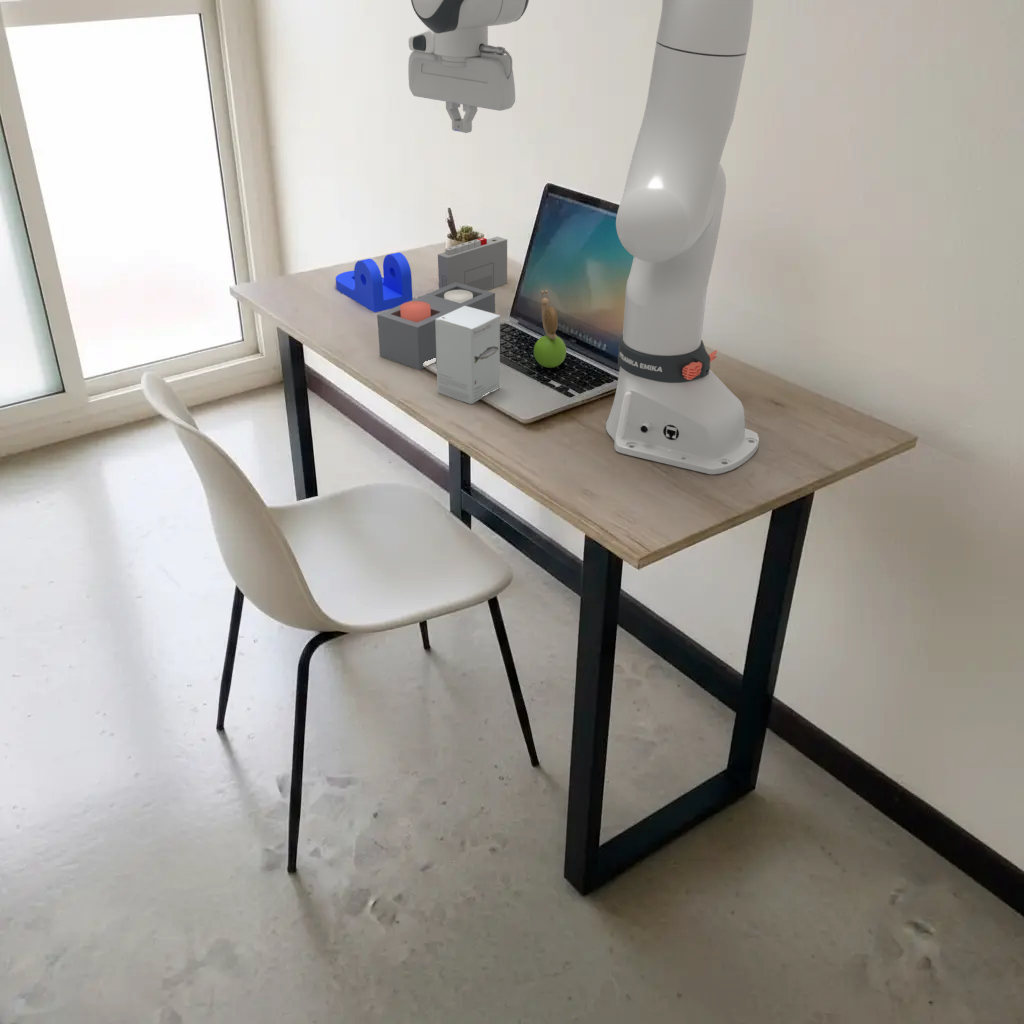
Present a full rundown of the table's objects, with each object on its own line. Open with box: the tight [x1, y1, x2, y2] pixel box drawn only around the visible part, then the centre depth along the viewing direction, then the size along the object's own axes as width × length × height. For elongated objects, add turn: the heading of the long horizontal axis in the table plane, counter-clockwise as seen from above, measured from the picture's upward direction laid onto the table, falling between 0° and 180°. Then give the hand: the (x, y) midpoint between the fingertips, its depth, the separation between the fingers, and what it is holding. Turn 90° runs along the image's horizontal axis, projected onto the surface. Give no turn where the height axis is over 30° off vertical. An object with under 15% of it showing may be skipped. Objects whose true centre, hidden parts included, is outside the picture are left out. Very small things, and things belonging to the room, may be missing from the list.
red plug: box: [400, 301, 431, 322], centre depth 176 cm, size 5×5×6 cm
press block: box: [376, 282, 496, 371], centre depth 181 cm, size 9×20×8 cm, turn 142°
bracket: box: [335, 252, 414, 314], centre depth 202 cm, size 18×8×9 cm, turn 36°
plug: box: [444, 290, 473, 303], centre depth 184 cm, size 5×5×6 cm
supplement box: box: [435, 306, 501, 405], centre depth 164 cm, size 7×7×13 cm
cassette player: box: [437, 235, 508, 291], centre depth 203 cm, size 16×3×10 cm, turn 135°
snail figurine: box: [533, 289, 567, 369], centre depth 173 cm, size 5×6×12 cm
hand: (462, 131), depth 176 cm, fingers closed
